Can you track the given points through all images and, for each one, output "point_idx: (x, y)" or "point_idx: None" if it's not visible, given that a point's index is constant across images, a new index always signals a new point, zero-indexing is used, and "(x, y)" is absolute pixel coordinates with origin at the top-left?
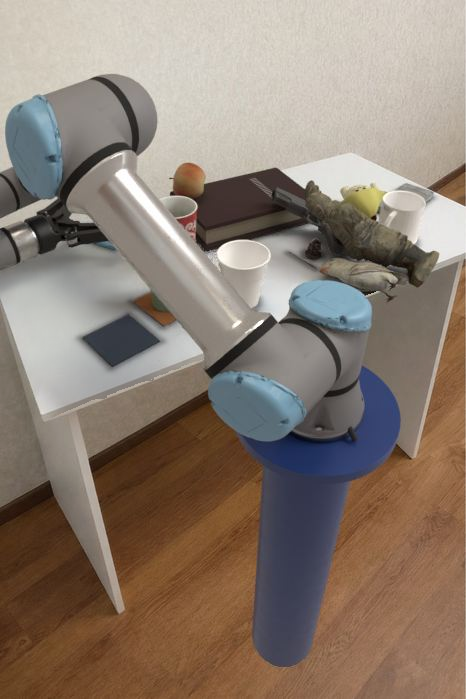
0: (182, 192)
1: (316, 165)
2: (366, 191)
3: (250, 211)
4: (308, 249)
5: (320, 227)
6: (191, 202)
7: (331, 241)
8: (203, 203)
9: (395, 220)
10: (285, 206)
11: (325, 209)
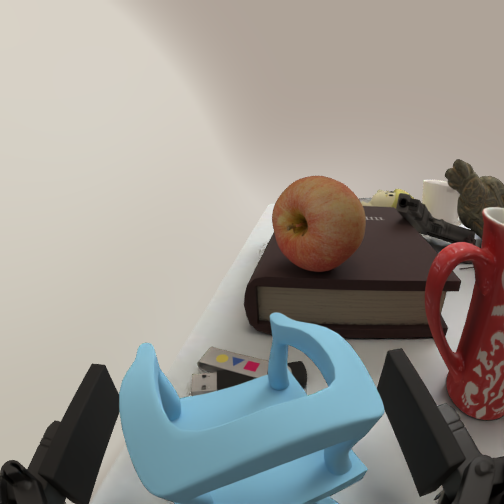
0: (354, 243)
1: (268, 213)
2: (402, 191)
3: (412, 237)
4: None
5: (444, 227)
6: (502, 214)
7: (469, 233)
8: (357, 260)
9: (457, 199)
10: (421, 214)
11: (485, 187)
